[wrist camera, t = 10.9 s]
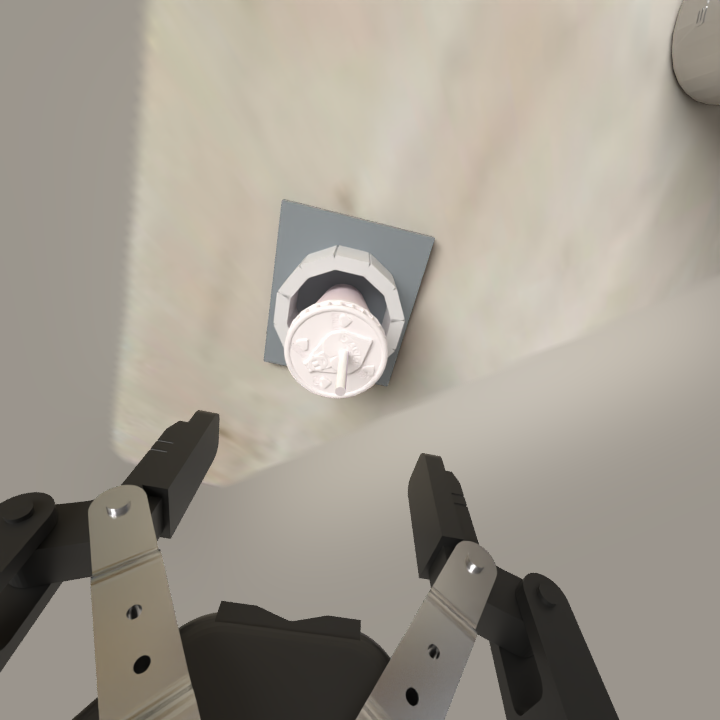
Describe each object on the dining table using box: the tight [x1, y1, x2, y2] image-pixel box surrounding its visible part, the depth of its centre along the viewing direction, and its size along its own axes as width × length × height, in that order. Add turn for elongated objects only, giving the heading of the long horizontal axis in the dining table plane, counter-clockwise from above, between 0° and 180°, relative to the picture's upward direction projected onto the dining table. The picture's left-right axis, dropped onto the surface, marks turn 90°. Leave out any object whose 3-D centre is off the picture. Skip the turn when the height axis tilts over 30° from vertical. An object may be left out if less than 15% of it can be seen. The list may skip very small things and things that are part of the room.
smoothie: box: [284, 284, 388, 398], centre depth 23 cm, size 6×6×14 cm
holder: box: [264, 199, 435, 386], centre depth 28 cm, size 12×14×5 cm
